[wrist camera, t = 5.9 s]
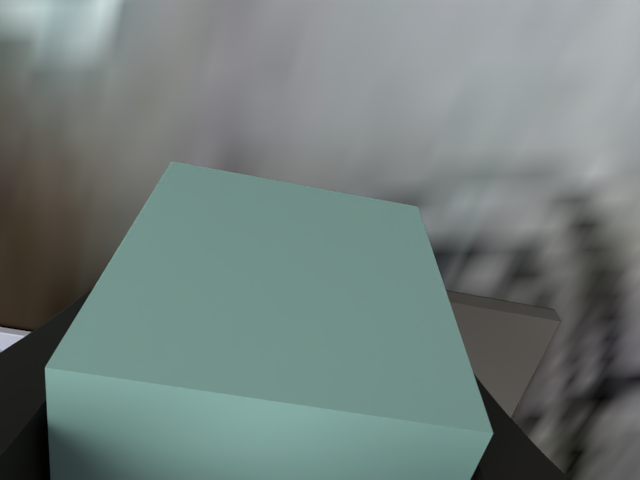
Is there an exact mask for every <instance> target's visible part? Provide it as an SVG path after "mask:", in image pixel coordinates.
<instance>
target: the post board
mask: <svg viewBox="0 0 640 480" xmlns="http://www.w3.org/2000/svg"><path fill="white" fill-rule="evenodd" d="M446 293H447V296H448V299H449V302H450V305H451V308H452V311H453V314H454V317H455V320H456V323H457V326H458V329H459V332H460V335H461V338H462V341H463V344H464V347H465V350H466V353H467V356H468V359H469V362H470V365H471V368H472V371H473V373H474V374H475V375H476V377H477V378H478V379H479V381H480V382H481V383H482V384H483V386H484V387H485V388H486V389H487V391H488V392H489V393H490V394H491V395H492V397H493V398H494V399H495V400H496V402H497V403H498V404H499V405H500V406H501V407H502V409H503V410H504V411H505V412H506V413H507V415H508V416H509V417H510V418H511V417H512V415H513V413H514V411H515V409H516V407H517V405H518V403H519V401H520V399H521V398H522V396H523V394H524V392H525V390H526V388H527V386H528V384H529V382H530V380H531V378H532V376H533V374H534V373H535V371H536V369H537V367H538V365H539V363H540V361H541V359H542V357H543V355H544V353H545V351H546V350H547V348H548V346H549V344H550V342H551V340H552V338H553V336H554V334H555V332H556V330H557V328H558V326H559V325H560V323H561V321H560V319H559V317H558V315H557V314H556V312H555V310H553V309H547V308H541V307H536V306H530V305H524V304H519V303H513V302H507V301H502V300H496V299H490V298H484V297H479V296H473V295H467V294H462V293H456V292H450V291H446Z"/></svg>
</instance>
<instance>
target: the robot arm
mask: <svg viewBox="0 0 640 480" xmlns="http://www.w3.org/2000/svg"><path fill="white" fill-rule="evenodd" d="M94 287H95V285H94V286H93V287H92V288H91V289H89V290H88V291H87V292H85V293H84V294H83V295H81V296H80V297H79V298H78V299H76V300H75V301H74V302H72V303H71V304H70V305H68V306H67V307H66V308H64V309H63V310H62V311H60V312H59V313H57V314H56V315H55V316H53V317H52V318H50V319H49V320H48V321H46V322H45V323H44V324H42V325H41V326H39V327H38V328H37V329H35V330H34V331H32V332H28V331H22V330H16V329H9V328H3V327H0V480H50V461H49V441H48V421H47V401H46V381H45V366H46V365H47V363H48V362H49V360H50V358H51V357H52V355H53V353H54V352H55V350H56V349H57V347H58V345H59V344H60V342H61V340H62V339H63V337H64V336H65V334H66V332H67V331H68V329H69V327H70V326H71V324H72V322H73V321H74V319H75V318H76V316H77V314H78V313H79V311H80V309H81V308H82V306H83V305H84V303H85V301H86V300H87V298H88V296H89V295H90V293H91V291H92V290H93V288H94ZM473 374H474V373H473ZM474 377H475V380H476V383H477V386H478V389H479V392H480V395H481V398H482V401H483V404H484V407H485V410H486V413H487V416H488V419H489V422H490V425H491V428H492V431H493V435H492V437H491V439H490V441H489V443H488V445H487V447H486V449H485V451H484V453H483V455H482V457H481V459H480V461H479V463H478V465H477V467H476V469H475V471H474V473H473V475H472V477H471V479H470V480H570V479H569V478H568V477H567V476H566V475H565V474H564V473H563V472H562V471H561V470H559V469H558V468H557V467H556V466H555V465H554V464H553V463H552V462H551V461H550V460H549V459H548V458H547V457H546V456H545V455H544V454H543V453H542V452H541V451H540V450H539V449H538V448H537V447H536V446H535V445H534V443H533V442H532V441H531V440H530V439H529V438H528V437H527V436H526V435H525V434H524V432H523V431H522V430H521V429H520V428H519V427H518V426H517V425H516V424H515V422H514V421H513V420H512V419H511V418H510V417H509V416H508V415H507V413H506V412H505V411H504V410H503V409H502V407H501V406H500V405H499V404H498V403H497V402H496V400H495V399H494V398H493V397H492V395H491V394H490V393H489V392H488V391H487V389H486V388H485V387H484V386H483V384H482V383H481V382H480V381H479V379H478V378H477V377H476V375H475V374H474Z"/></svg>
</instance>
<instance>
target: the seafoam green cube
mask: <svg viewBox="0 0 640 480" xmlns="http://www.w3.org/2000/svg"><path fill="white" fill-rule="evenodd" d="M45 381H46V401H47V421H48V441H49V461H50V480H470V479H471V477H472V475H473V473H474V471H475V469H476V467H477V465H478V463H479V461H480V459H481V457H482V455H483V453H484V451H485V449H486V447H487V445H488V443H489V441H490V439H491V437H492V435H493V431H492V428H491V425H490V422H489V419H488V416H487V413H486V410H485V407H484V404H483V401H482V398H481V395H480V392H479V389H478V386H477V383H476V380H475V377H474V374H473V371H472V368H471V365H470V362H469V359H468V356H467V353H466V350H465V347H464V344H463V341H462V338H461V335H460V332H459V329H458V326H457V323H456V320H455V317H454V314H453V311H452V308H451V305H450V302H449V299H448V296H447V293H446V290H445V287H444V284H443V281H442V278H441V275H440V272H439V268H438V265H437V262H436V259H435V256H434V253H433V250H432V247H431V244H430V241H429V238H428V235H427V232H426V229H425V226H424V223H423V220H422V217H421V214H420V211H419V208H418V207H417V206H412V205H406V204H401V203H396V202H390V201H385V200H379V199H374V198H368V197H363V196H358V195H352V194H347V193H341V192H336V191H330V190H325V189H319V188H314V187H309V186H303V185H298V184H292V183H287V182H281V181H276V180H271V179H265V178H260V177H254V176H249V175H243V174H238V173H233V172H227V171H222V170H216V169H211V168H205V167H200V166H195V165H189V164H184V163H178V162H173V161H171V163H170V164H169V166H168V168H167V169H166V171H165V172H164V174H163V176H162V177H161V179H160V181H159V182H158V184H157V186H156V187H155V189H154V190H153V192H152V194H151V195H150V197H149V199H148V200H147V202H146V203H145V205H144V207H143V208H142V210H141V212H140V213H139V215H138V216H137V218H136V220H135V221H134V223H133V225H132V226H131V228H130V230H129V231H128V233H127V234H126V236H125V238H124V239H123V241H122V243H121V244H120V246H119V247H118V249H117V251H116V252H115V254H114V256H113V257H112V259H111V261H110V262H109V264H108V265H107V267H106V269H105V270H104V272H103V274H102V275H101V277H100V278H99V280H98V282H97V283H96V285H95V287H94V288H93V290H92V291H91V293H90V295H89V296H88V298H87V300H86V301H85V303H84V305H83V306H82V308H81V309H80V311H79V313H78V314H77V316H76V318H75V319H74V321H73V322H72V324H71V326H70V327H69V329H68V331H67V332H66V334H65V336H64V337H63V339H62V340H61V342H60V344H59V345H58V347H57V349H56V350H55V352H54V353H53V355H52V357H51V358H50V360H49V362H48V363H47V365H46V366H45Z"/></svg>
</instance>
